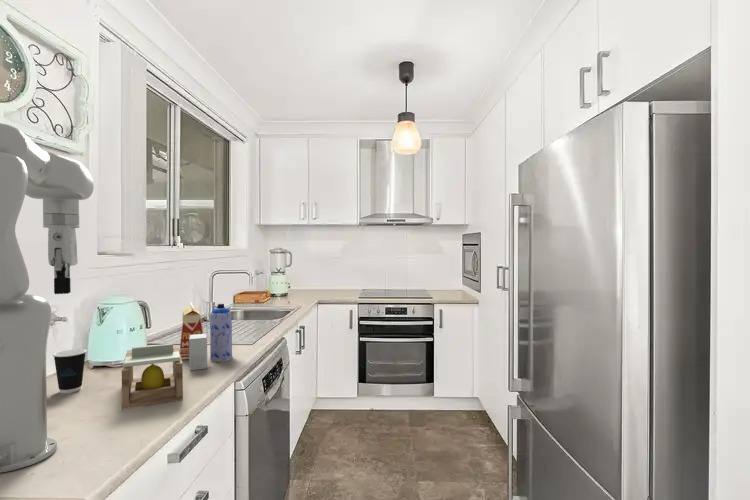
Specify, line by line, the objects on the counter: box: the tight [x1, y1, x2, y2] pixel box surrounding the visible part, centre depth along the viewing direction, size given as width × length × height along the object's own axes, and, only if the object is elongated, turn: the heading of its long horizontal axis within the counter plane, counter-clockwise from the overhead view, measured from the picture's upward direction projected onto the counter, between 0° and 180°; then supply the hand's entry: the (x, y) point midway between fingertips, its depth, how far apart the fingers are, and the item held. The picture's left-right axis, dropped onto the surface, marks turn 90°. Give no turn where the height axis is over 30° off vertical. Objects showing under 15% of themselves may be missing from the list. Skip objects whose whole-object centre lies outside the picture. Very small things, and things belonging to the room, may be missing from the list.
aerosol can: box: [209, 303, 234, 362], centre depth 156 cm, size 8×8×20 cm
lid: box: [123, 343, 180, 367], centre depth 116 cm, size 7×13×4 cm, turn 117°
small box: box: [188, 333, 208, 371], centre depth 146 cm, size 8×6×10 cm
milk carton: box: [179, 301, 204, 360], centre depth 160 cm, size 9×9×20 cm
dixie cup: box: [52, 348, 88, 394], centre depth 122 cm, size 8×8×11 cm
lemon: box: [140, 364, 165, 390], centre depth 116 cm, size 6×6×8 cm
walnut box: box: [121, 344, 184, 410], centre depth 122 cm, size 24×14×10 cm, turn 27°
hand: (62, 293), depth 110 cm, fingers closed
